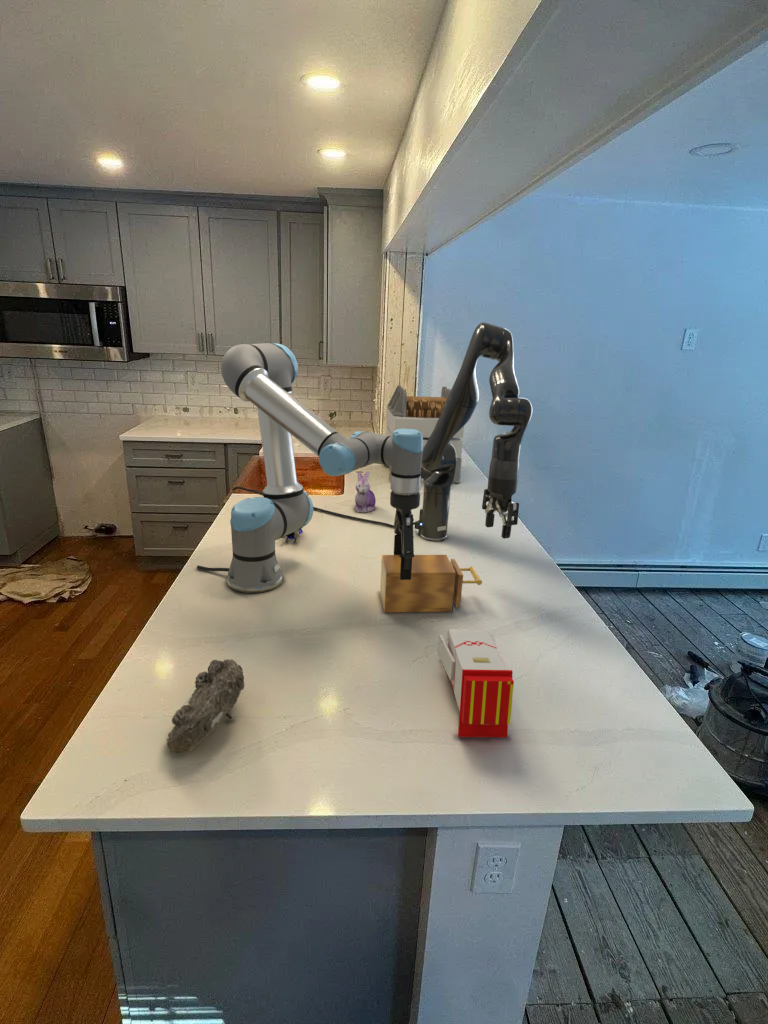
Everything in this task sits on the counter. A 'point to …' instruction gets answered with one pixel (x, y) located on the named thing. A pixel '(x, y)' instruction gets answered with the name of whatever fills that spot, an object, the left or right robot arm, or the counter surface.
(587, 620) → the counter surface
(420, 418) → the grey boxy piece
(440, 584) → the cabinet
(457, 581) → the drawer
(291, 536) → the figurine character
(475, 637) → the toy
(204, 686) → the fossil
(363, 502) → the figurine
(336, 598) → the counter surface
